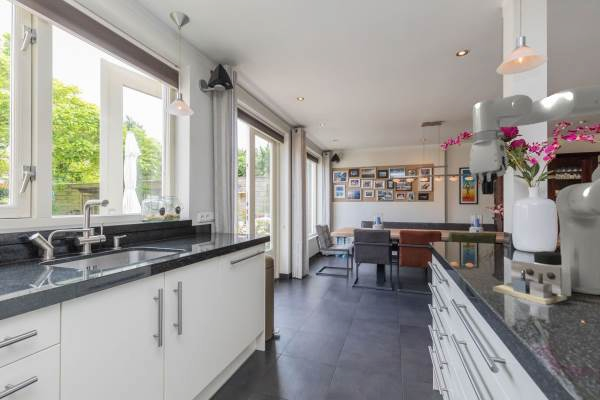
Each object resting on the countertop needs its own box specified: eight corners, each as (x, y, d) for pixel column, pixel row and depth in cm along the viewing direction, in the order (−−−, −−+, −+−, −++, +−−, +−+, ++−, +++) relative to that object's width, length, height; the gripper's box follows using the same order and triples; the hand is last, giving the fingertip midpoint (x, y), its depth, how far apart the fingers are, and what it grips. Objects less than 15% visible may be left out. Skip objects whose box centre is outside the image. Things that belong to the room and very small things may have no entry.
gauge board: (513, 286, 86) (513, 259, 87) (567, 299, 74) (566, 267, 75) (492, 290, 82) (492, 262, 83) (545, 304, 71) (544, 271, 71)
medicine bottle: (572, 297, 77) (570, 254, 78) (542, 296, 79) (541, 253, 79) (554, 290, 84) (553, 250, 85) (527, 288, 86) (526, 249, 86)
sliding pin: (522, 288, 80) (521, 268, 80) (534, 291, 77) (533, 270, 77) (513, 290, 78) (512, 270, 79) (525, 293, 76) (524, 272, 76)
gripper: (518, 134, 87) (520, 193, 86) (472, 144, 101) (473, 195, 100) (503, 132, 84) (505, 193, 83) (458, 142, 98) (459, 195, 97)
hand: (487, 194), depth 92 cm, fingers closed
